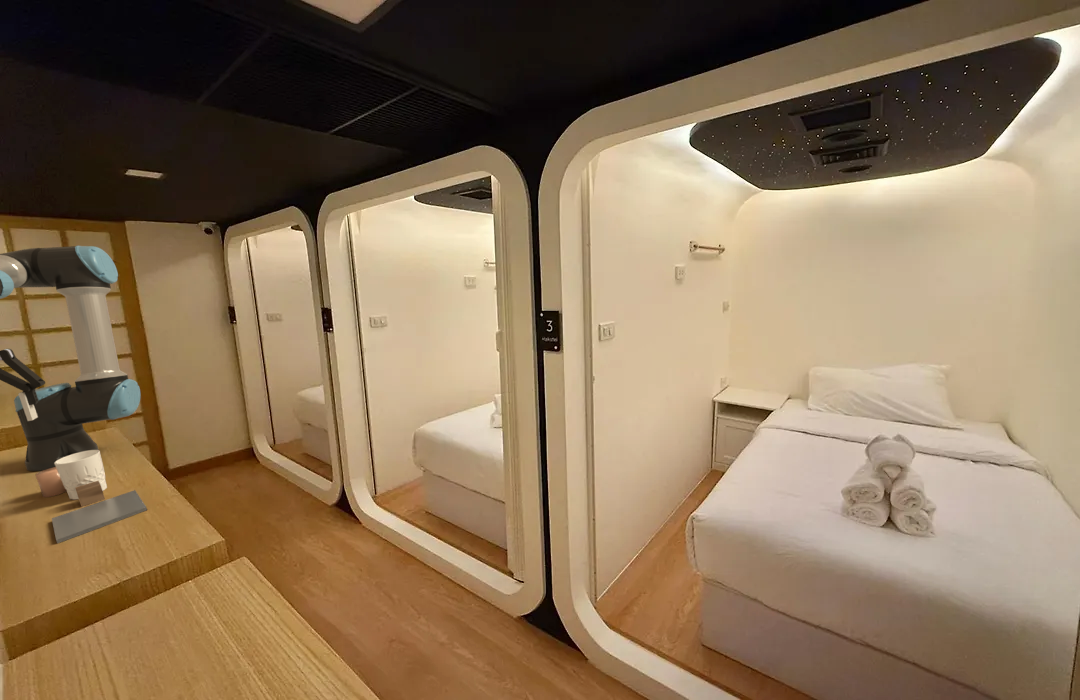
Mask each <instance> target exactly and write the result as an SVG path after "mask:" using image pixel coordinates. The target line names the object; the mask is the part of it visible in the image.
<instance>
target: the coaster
mask: <svg viewBox="0 0 1080 700" xmlns="http://www.w3.org/2000/svg"><path fill="white" fill-rule="evenodd" d="M146 511H148V508H147V506H146V504H145V503H144V501H143V500H142V498H141V497H140V495H139V493H137V491H136V490H135V489H134V490H131V491H129V492H126V493H122V494H120V495H116V496H113V497H111V498H108V499H104V500H101V501H98V502H95V503H92V504H89V505H86V506H84V507H81V508H78V509H75V510H72V511H69V512H67V513H63V514H61V515H57V516H55V517H52V518H51V521H52V522H51V523H52V526H53V531H54V535H55V540H56V543H57V544H60V543H63V542H65V541H68V540H71V539H74V538H77V537H80V536H82V535H84V534H87V533H89V532H92V531H94V530H98V529H101V528H103V527H106V526H108V525H111V524H114V523H116V522H118V521H122V520H124V519H127V518H130V517H132V516H133V517H134V516H135V515H138V514H141V513H143V512H146Z"/></svg>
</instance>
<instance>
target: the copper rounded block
mask: <svg viewBox="0 0 1080 700" xmlns="http://www.w3.org/2000/svg"><path fill="white" fill-rule="evenodd" d="M35 477H36V480H37V483H38V487H39V488H40V489H39V490H40V491H41V495H42V497H43V498H49V497H50V498H51V497H54V496H58V495H61V494H65V493H66V492H67V490H66V489H65V487H64V485H63V483H62V481H61V479H60V476H59V474H58V471H57V469H56V467H53V468H49V469H46V470H40V471H37V473H35Z"/></svg>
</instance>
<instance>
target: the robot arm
mask: <svg viewBox="0 0 1080 700" xmlns="http://www.w3.org/2000/svg"><path fill="white" fill-rule="evenodd" d="M118 277H119V273H118V269H117V267H116V265H115V262H114V261H113V259H112V258H111V256H109V254H108V253H107V252H106V251H105V250H104V249H102V248H100V247H99V246H93V245H90V246H89V245H73V246H72V245H71V246H58V247H55V246H53V247H31V248H26V249H25V248H24V249H18V250H14V251H8V252H4V253H2V252H1V253H0V299H4V298H7V297H8V296H9V295H11V294H12V293H13V291H14V289H17V288H18V289H19V288H55V289H56V293H59V294H60V295H62V296H64V298H65V302H66V307H67V312H68V316H69V322H70V326H71V331H72V337H73V343H74V347H75V352H76V357H77V362H78V367H79V372H80V375H79V376H78V377H77V378H76V379H75V380H74V384H75V386H72V385H71V384H70V383H69V382H63V383H62V382H61V383H57V384H53V385H48V386H44V385H45V384H46V380H45V379H43V378H41V376H39V375H38V374H37V373H35V372H34V371H33V370H32V369H30V368H29V366H27V365H26V364H25V363H23V362H22V361H21V360H20V359H18V358H17V356H16V355H15V353H14V351H13V350H12V348H4V349H1V350H0V361H3V363H4V364H6V365H7V366H8V367H9V368H10V369H12V370H13V371H14V372H15V373H17V374H18V375H19V376H16V375H14V374H12V373H11V372H9V371H6V370H4V369H2V368H1V367H0V381H2V382H4V383H6V384H8V385H10V386H12V387H14V388H16V389H18V390H20V392H18V395H17V396H16V397H14V400H13V403H14V408H15V413H16V414H17V417H18V419H19V420H18V421H19V422H20V425H21V428H22V430H23V433H24V436H25V439H26V441H27V447H26V453H25V460H24V465H25V469H26V470H27V471H29V472H36V471H37V472H40V471H43V470H46V469H49V468H53V467H56V466H55V464H54V462H55V461H57V460H59V459H61V458H63V457H66V456H69V455H72V454H75V453H79V452H83V451H89V450H99V447H98V445H97V443H96V442H95V440H94V439H93V438H92V437H91V436H90V434H88V433H87V432H86V431H85V429H84V426H83V424H88V423H96V422H101V421H102V422H103V421H109V420H111V421H112V420H117V419H121V418H125V417H129V416H131V415H133V414H134V413H135V412H136V411H137V410H138V408H139V406H140V403H141V402H140V401H141V389H140V386H139V384H138V382H137V381H136V380H134V379H132V378H129V376H128V375H129V374H128V373H127V372H125V371H122V370H121V369H120V364H119V360H118V354H117V348H116V344H115V338H114V334H113V327H112V323H111V318H110V317H111V316H110V313H109V306H108V301H107V298H106V297H107V294H109V293H110V292H111V291H112V289H111V288H112V287H111V284H112V285H113V284H115V283H116V282H117V281H118ZM20 376H21V377H22V378H23V379H22V378H20ZM43 386H44V387H43ZM40 387H41V388H40Z"/></svg>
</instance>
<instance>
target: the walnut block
mask: <svg viewBox="0 0 1080 700" xmlns="http://www.w3.org/2000/svg"><path fill="white" fill-rule="evenodd" d="M75 489H76V492H77V495H78V498H79V499H78V501H79V504H80V506H81V508H84V507H87V506H90V505H93V504H95V503H98V502H101V501H104V500H106V498H105V495H104V491H102V488H101V485H100V483H99V481H95V482H92V483H89V484H85V485H82V486H79V487H76V488H75Z"/></svg>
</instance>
